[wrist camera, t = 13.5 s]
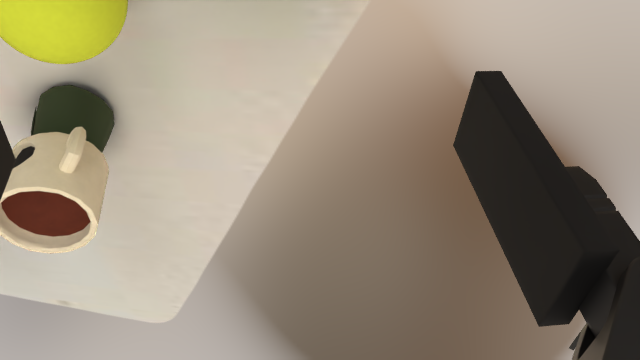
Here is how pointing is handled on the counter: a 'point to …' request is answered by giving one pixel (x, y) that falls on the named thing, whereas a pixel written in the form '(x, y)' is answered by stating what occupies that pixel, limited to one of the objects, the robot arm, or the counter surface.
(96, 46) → the ball
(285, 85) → the counter surface
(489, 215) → the robot arm
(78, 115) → the character mug
